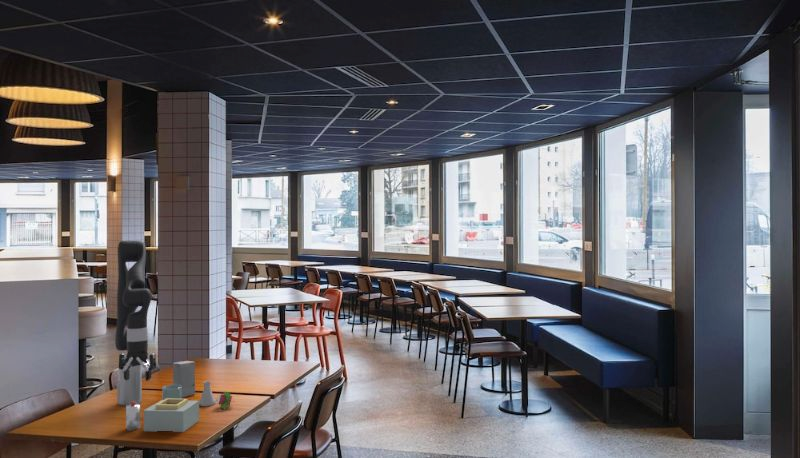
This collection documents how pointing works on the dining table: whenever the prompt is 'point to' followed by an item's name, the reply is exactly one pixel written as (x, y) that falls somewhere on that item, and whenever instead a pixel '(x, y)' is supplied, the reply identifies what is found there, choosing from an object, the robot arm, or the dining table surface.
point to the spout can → (132, 416)
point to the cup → (171, 392)
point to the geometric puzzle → (224, 400)
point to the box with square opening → (171, 415)
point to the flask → (207, 395)
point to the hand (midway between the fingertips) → (137, 380)
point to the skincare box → (184, 377)
